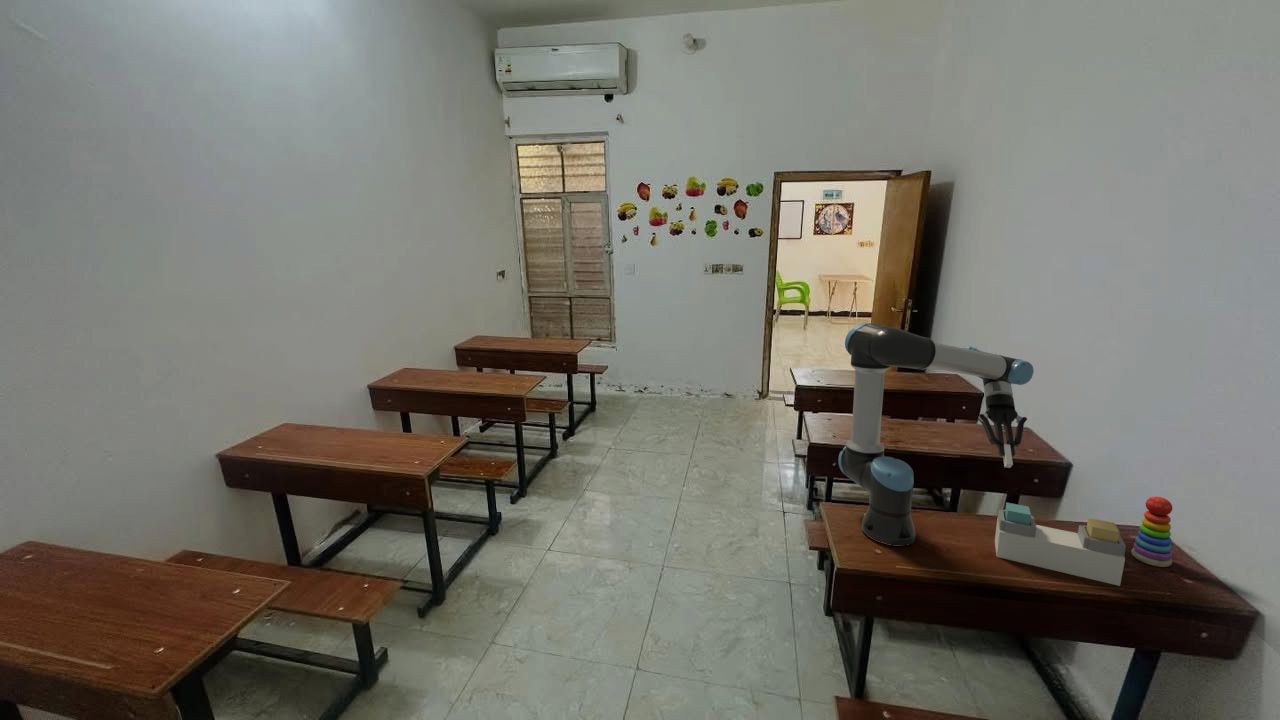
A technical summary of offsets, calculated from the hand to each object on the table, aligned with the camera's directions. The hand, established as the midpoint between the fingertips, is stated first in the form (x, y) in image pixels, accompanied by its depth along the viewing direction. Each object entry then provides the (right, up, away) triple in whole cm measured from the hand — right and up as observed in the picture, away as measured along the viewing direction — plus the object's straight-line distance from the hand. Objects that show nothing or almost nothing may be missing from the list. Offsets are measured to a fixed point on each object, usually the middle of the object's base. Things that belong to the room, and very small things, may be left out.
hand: (1008, 465), depth 149 cm
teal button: (-5, -13, -9) cm, 17 cm away
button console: (+3, -24, -12) cm, 27 cm away
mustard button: (+11, -15, -19) cm, 26 cm away
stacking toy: (+30, -24, -12) cm, 40 cm away
